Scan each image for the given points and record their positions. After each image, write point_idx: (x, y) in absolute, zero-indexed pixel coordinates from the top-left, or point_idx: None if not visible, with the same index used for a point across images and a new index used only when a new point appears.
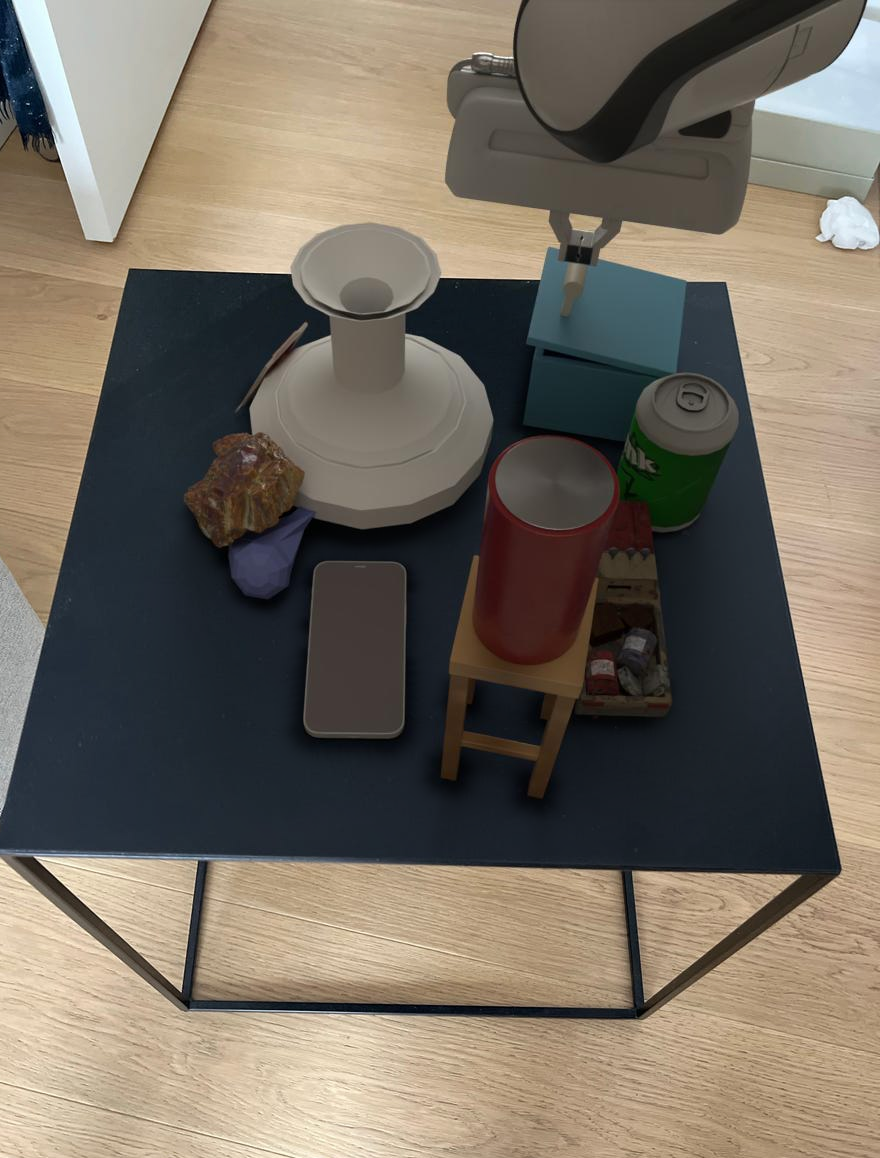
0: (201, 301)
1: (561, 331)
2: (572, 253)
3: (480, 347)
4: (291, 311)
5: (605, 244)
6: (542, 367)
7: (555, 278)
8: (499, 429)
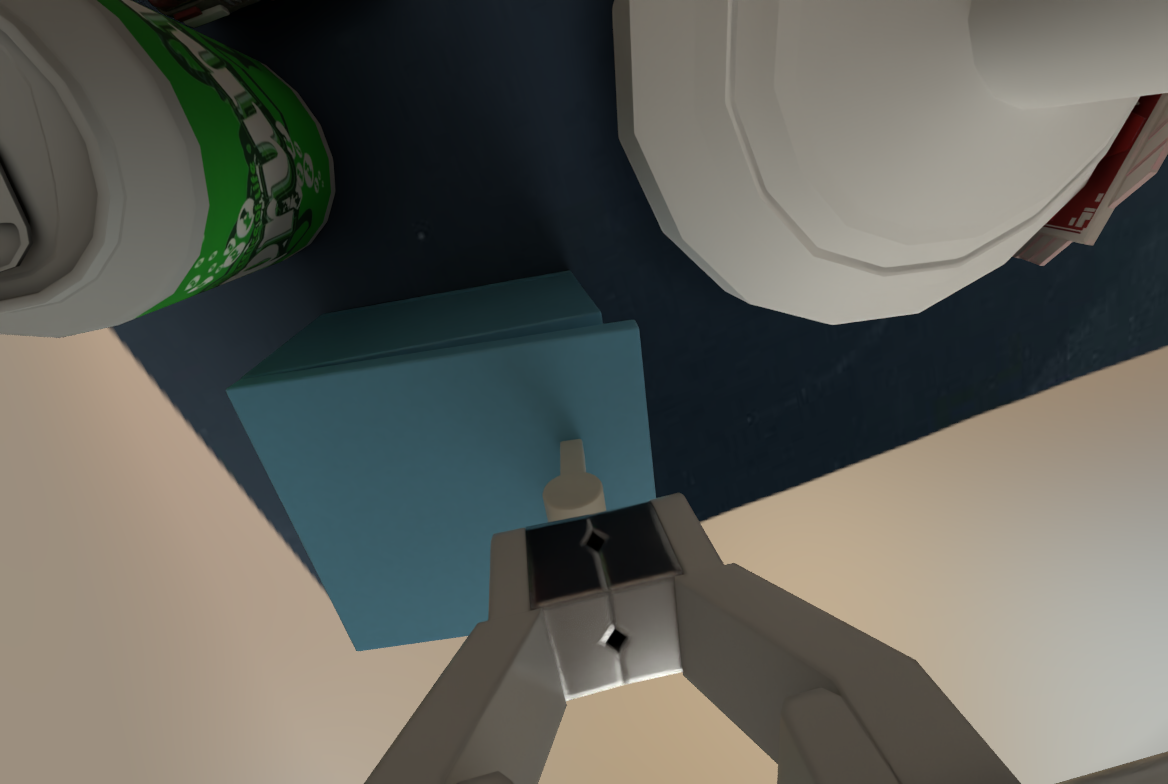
0: (1127, 324)
1: (560, 387)
2: (631, 540)
3: (690, 411)
4: (991, 361)
5: (460, 655)
6: (572, 309)
7: None
8: (608, 242)
